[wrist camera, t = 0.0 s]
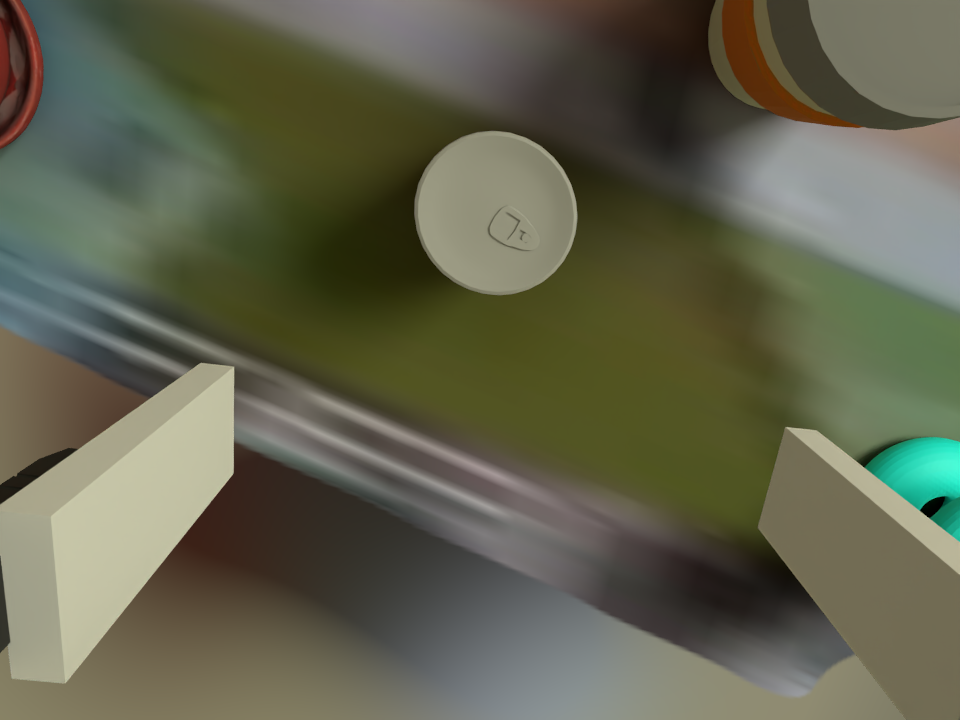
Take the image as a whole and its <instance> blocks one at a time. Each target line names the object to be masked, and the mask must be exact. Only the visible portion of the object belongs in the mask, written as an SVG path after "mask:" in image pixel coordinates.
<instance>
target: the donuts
mask: <svg viewBox="0 0 960 720" xmlns="http://www.w3.org/2000/svg"><path fill="white" fill-rule="evenodd" d="M865 469H867V470H868V471H869V472H870V473H872V474H873V475H874V476H876V477H877V478H878V479H879V480H881V481H882V482H883V483H885V484H886V485H887V486H888V487H890V488H891V489H892V490H893V491H895V492H896V493H897V494H899V495H900V496H901V497H902V498H904V499H905V500H906V501H908V502H909V503H910V504H911V505H913V506H914V507H915V508H917V509H918V510H919V511H920V509H921V508H922V507H923V506H924V505H925V504H926V503H927V502H928V501H930V500H932V499H934V498H937V497H941V496H945V500H944V502H943V505H942V506H941V508H940V509H939V510H938V512H936V513H935V514H934V515H933V516H932V517H931V518H929V519H931V520H932V521H933V522H934V523H936V524H937V525H938V526H940V527H941V528H942V529H943V530H945V531H946V532H947V533H949V534H950V535H951V536H952V537H954V538H955V539H956V540H958V541H959V542H960V442H958V441H954V440H950V439H946V438H939V437H924V438H916V439H911V440H907V441H904V442H901V443H898V444H896V445H894V446H892V447H890V448H888V449H886V450H884V451H883V452H881V453H880V454H879V455H877V456H876V457H875V458H873V459H872V460H871V461H870V462H869V463H868V464H867V465H866V466H865Z"/></svg>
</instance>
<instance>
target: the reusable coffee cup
mask: <svg viewBox="0 0 960 720" xmlns="http://www.w3.org/2000/svg"><path fill="white" fill-rule="evenodd" d="M708 46H709V52H710V57H711V62H712V65H713V67H714V69H715V72H716V74H717V76H718V78H719V79H720V81H721V82H722V84H723V85H724V86H725V88H726V89H727V90H728V91H729V92H730V93H731V94H733V95H734V96H735V97H736V98H737V99H739V100H741V101H743V102H744V103H746V104H748V105H751V106H754V107H758V108H761V109H767V110H769V111H771V112H772V113H774V114H776V115H778V116H782V117H785V118H788V119H792V120H795V121H801V122H809V123H816V124H823V125H830V126H841V127H854V128H860V127H866V128H874V129H888V130H900V129H908V128H915V127H923V126H927V125H931V124H935V123H939V122H943V121H947V120H951V119H955V118H959V117H960V0H716V1H715V4H714V7H713V10H712V13H711V17H710V23H709V30H708Z"/></svg>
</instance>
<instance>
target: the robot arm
mask: <svg viewBox="0 0 960 720" xmlns="http://www.w3.org/2000/svg"><path fill="white" fill-rule="evenodd" d="M233 446H234V367H232V366H223V365H214V364H205V363H200V364H199V365H197V366H196V367H194V368H193V369H192V370H190V371H189V372H187V373H186V374H185V375H183V376H182V377H180V378H179V379H177V380H176V381H175V382H173V383H172V384H170V385H169V386H168V387H166V388H165V389H163V390H162V391H160V392H159V393H158V394H156V395H155V396H153V397H152V398H151V399H149V400H148V401H146V402H145V403H143V404H142V405H141V406H139V407H138V408H137V409H135V410H134V411H132V412H131V413H130V414H128V415H126V416H125V417H124V418H122V419H121V420H119V421H118V422H117V423H115V424H114V425H112V426H111V427H109V428H108V429H107V430H105V431H104V432H102V433H101V434H100V435H98V436H97V437H95V438H94V439H92V440H91V441H90V442H88V443H87V444H85V445H84V446H83V447H81V448H80V449H73V448H68V449H65V450H62V451H60V452H57V453H54V454H51V455H49V456H46V457H44V458H41V459H38V460H37V461H35V462H34V463H33V464H31V465H30V466H28V467H26V468H25V469H23V470H22V471H20V472H19V473H18V474H17V477H15V476H13V477H12V478H10V479H9V480H7V481H5V482H4V483H2V484H1V485H0V652H1V651H2V650H3V649H4V648H5V647H6V646H7V645H8V651H9V660H10V669H11V678H12V679H22V680H33V681H43V682H55V683H66V682H67V681H68V680H69V678H70V677H71V676H72V674H73V673H74V672H75V671H76V669H77V668H78V667H79V666H80V664H81V663H82V662H83V661H84V659H85V658H86V657H87V656H88V655H89V653H90V652H91V651H92V650H93V648H94V647H95V646H96V645H97V643H98V642H99V641H100V640H101V638H102V637H103V636H104V635H105V633H106V632H107V631H108V630H109V628H110V627H111V626H112V625H113V623H114V622H115V621H116V619H117V618H118V617H119V616H120V615H121V613H122V612H123V611H124V610H125V608H126V607H127V606H128V605H129V603H130V602H131V601H132V600H133V598H134V597H135V596H136V595H137V593H138V592H139V591H140V590H141V588H142V587H143V586H144V585H145V583H146V582H147V581H148V580H149V578H150V577H151V576H152V575H153V573H154V572H155V571H156V570H157V568H158V567H159V566H160V564H161V563H162V562H163V561H164V560H165V558H166V557H167V556H168V554H169V553H170V552H171V551H172V550H173V548H174V547H175V546H176V545H177V543H178V542H179V541H180V540H181V538H182V537H183V536H184V535H185V533H186V532H187V531H188V530H189V528H190V527H191V526H192V524H193V523H194V522H195V521H196V520H197V518H198V517H199V516H200V515H201V513H202V512H203V511H204V510H205V508H206V507H207V506H208V505H209V503H210V502H211V501H212V500H213V498H214V497H215V496H216V495H217V493H218V492H219V491H220V490H221V488H222V487H223V486H224V485H225V483H226V482H227V481H228V480H229V478H230V477H231V476H232V474H233V465H234V463H233V462H234V457H233V456H234V449H233V448H234V447H233ZM758 529H759V530H760V531H761V533H762V534H763V535H764V537H765V538H766V539H767V540H768V542H769V543H770V544H771V546H772V547H773V548H774V549H775V551H776V552H777V553H778V555H779V556H780V557H781V559H782V560H783V561H784V562H785V564H786V565H787V566H788V568H789V569H790V570H791V571H792V573H793V574H794V575H795V577H796V578H797V579H798V581H799V582H800V583H801V584H802V586H803V587H804V588H805V590H806V591H807V592H808V593H809V595H810V596H811V597H812V599H813V600H814V601H815V603H816V604H817V605H818V606H819V608H820V609H821V610H822V612H823V613H824V614H825V615H826V617H827V618H828V619H829V621H830V622H831V623H832V625H833V626H834V627H835V628H836V630H837V631H838V632H839V634H840V635H841V636H842V637H843V639H844V640H845V641H846V643H847V644H848V645H849V647H850V648H851V649H852V650H853V652H854V653H855V654H856V656H857V657H858V658H859V659H860V661H861V662H862V663H863V665H864V666H865V667H866V669H867V670H868V671H869V672H870V674H871V675H872V676H873V678H874V679H875V680H876V681H877V683H878V684H879V685H880V687H881V688H882V689H883V691H884V692H885V693H886V694H887V696H888V697H889V698H890V699H891V701H892V702H893V703H894V704H895V706H896V707H897V709H898V710H899V711H900V712H901V714H902V715H903V716H904V718H905V719H906V720H960V542H959V541H958V540H956V539H955V538H954V537H952V536H951V535H950V534H949V533H947V532H946V531H945V530H943V529H942V528H941V527H940V526H938V525H937V524H936V523H934V522H933V521H932V520H931V519H929V518H928V517H927V516H926V515H924V514H923V513H922V512H920V511H919V510H918V509H917V508H915V507H914V506H913V505H911V504H910V503H909V502H908V501H906V500H905V499H904V498H902V497H901V496H900V495H899V494H897V493H896V492H895V491H893V490H892V489H891V488H890V487H888V486H887V485H886V484H885V483H883V482H882V481H881V480H879V479H878V478H877V477H876V476H874V475H873V474H872V473H870V472H869V471H868V470H867V469H865V468H864V467H863V466H861V465H860V464H859V463H858V462H856V461H855V460H854V459H852V458H851V457H850V456H849V455H847V454H846V453H845V452H844V451H842V450H841V449H840V448H838V447H837V446H836V445H835V444H833V443H832V442H831V441H829V440H828V439H827V438H826V437H824V436H823V435H822V434H820V433H819V432H818V431H817V430H807V429H798V428H789V427H785V431H784V434H783V438H782V441H781V445H780V449H779V452H778V456H777V460H776V463H775V467H774V470H773V474H772V478H771V481H770V485H769V489H768V492H767V496H766V499H765V503H764V507H763V510H762V514H761V518H760V521H759V525H758Z"/></svg>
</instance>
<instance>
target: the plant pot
mask: <svg viewBox="0 0 960 720" xmlns="http://www.w3.org/2000/svg"><path fill="white" fill-rule="evenodd" d="M42 86H43V58H42V52H41V47H40V43H39V39H38V36H37V33H36V30H35V27H34V25H33V23H32V20H31V18H30V16H29V14H28V12H27V10H26V9H25V7H24V5H23V4H22V2H21V1H20V0H0V149H1V148H3V147H5V146H6V145H8V144H10V143H11V142H12V141H14V140H15V139H16V138H17V137H18V136H20V135H21V133H22V132H23V131H24V130H25V129H26V128H27V126H28V125H29V123H30V122H31V120H32V118H33V116H34V114H35V111H36V109H37V107H38V104H39V101H40V97H41V93H42Z"/></svg>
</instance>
